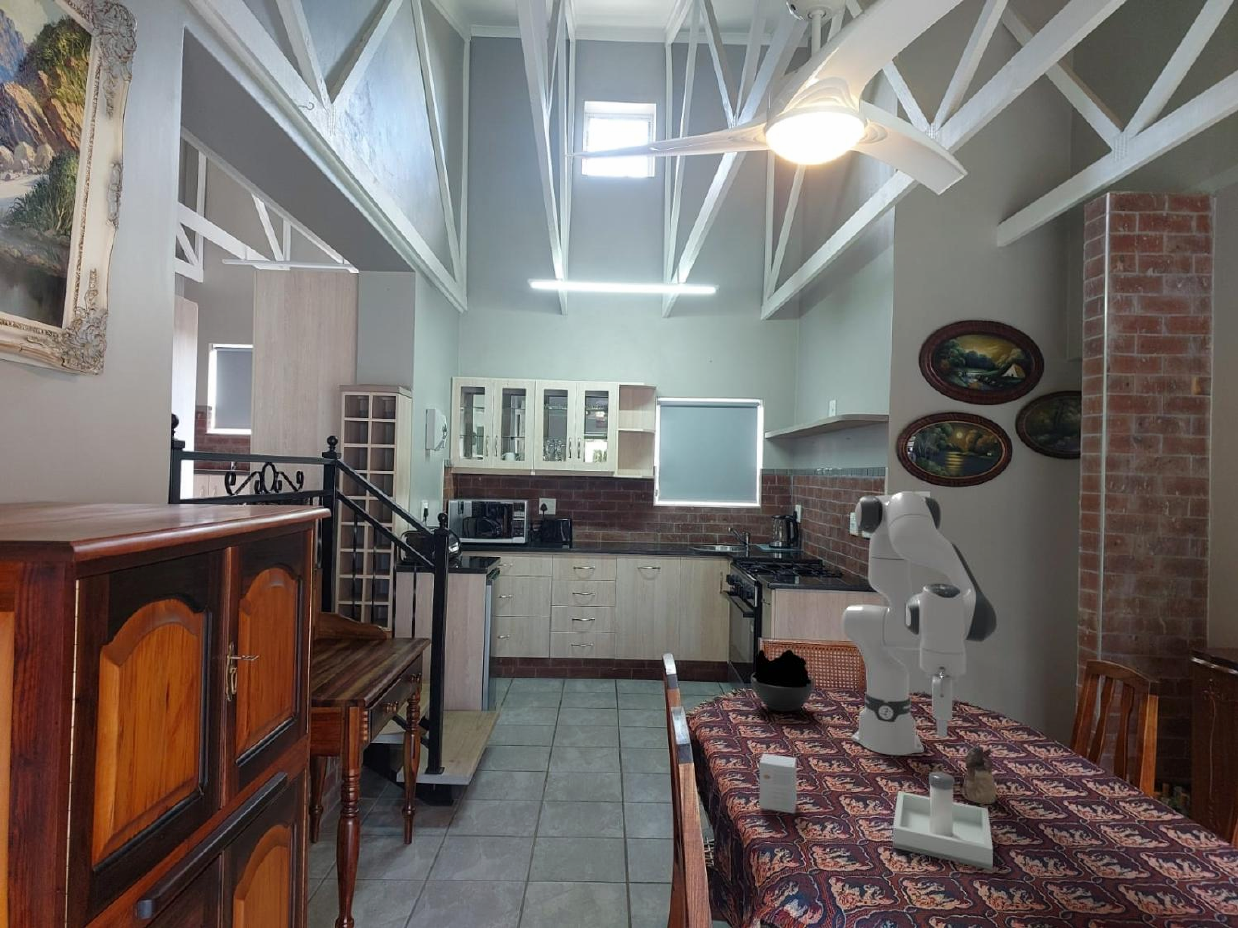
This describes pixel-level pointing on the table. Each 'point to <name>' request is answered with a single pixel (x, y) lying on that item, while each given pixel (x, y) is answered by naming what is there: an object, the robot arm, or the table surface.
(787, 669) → the coal bowl
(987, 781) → the figurine
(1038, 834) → the table surface
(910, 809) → the tray
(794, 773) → the small box
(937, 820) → the shaker
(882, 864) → the table surface
